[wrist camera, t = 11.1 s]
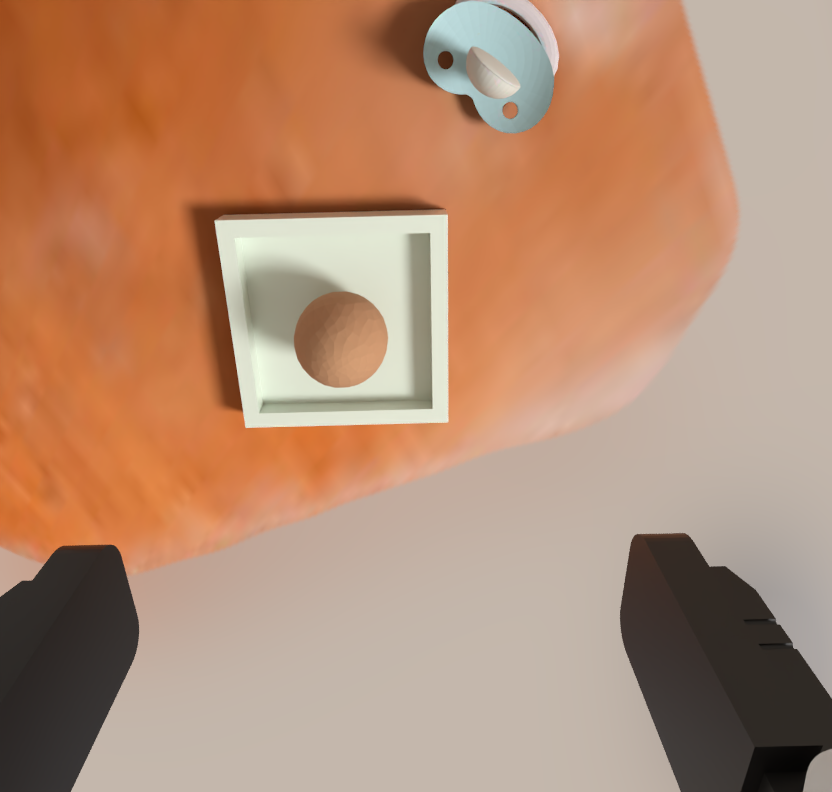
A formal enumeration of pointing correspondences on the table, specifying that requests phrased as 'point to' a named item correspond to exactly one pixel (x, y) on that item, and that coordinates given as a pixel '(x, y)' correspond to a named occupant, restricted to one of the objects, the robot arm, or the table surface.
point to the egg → (340, 339)
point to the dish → (338, 272)
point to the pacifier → (496, 59)
